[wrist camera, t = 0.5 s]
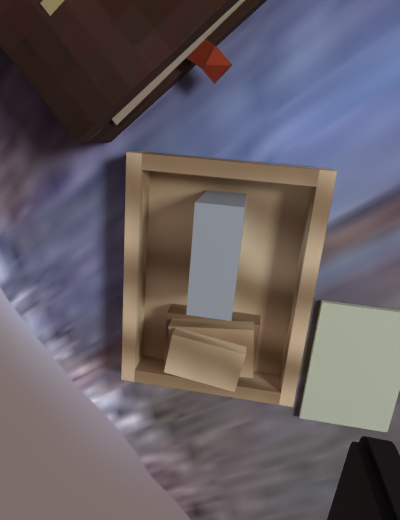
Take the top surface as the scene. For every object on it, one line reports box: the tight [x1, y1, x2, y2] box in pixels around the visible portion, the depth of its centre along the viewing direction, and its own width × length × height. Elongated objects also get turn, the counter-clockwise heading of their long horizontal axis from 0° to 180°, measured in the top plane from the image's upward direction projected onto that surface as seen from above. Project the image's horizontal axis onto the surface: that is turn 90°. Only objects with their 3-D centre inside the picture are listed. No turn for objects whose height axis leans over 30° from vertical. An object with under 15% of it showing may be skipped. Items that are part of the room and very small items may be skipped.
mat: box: [299, 300, 400, 432], centre depth 34 cm, size 12×8×1 cm, turn 175°
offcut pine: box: [164, 328, 246, 392], centre depth 31 cm, size 4×6×1 cm, turn 77°
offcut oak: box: [168, 318, 254, 378], centre depth 32 cm, size 4×7×2 cm, turn 91°
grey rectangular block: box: [186, 190, 247, 321], centre depth 29 cm, size 8×3×7 cm, turn 175°
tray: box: [121, 151, 337, 407], centre depth 32 cm, size 20×15×3 cm
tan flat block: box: [164, 303, 260, 374], centre depth 34 cm, size 5×8×2 cm, turn 85°
